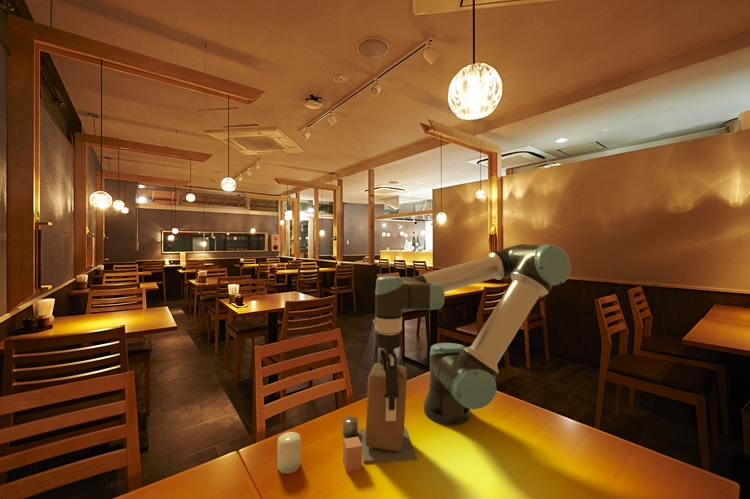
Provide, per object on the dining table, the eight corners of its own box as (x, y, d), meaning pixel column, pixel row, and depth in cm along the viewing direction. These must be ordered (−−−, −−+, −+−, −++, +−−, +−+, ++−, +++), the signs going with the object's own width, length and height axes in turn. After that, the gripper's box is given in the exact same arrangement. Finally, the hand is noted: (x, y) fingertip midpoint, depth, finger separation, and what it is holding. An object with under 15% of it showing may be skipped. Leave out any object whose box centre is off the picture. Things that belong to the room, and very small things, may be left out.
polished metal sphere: (357, 429, 98) (357, 416, 97) (358, 437, 93) (358, 424, 93) (342, 429, 97) (342, 416, 97) (343, 438, 93) (343, 425, 93)
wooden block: (401, 453, 84) (405, 379, 84) (364, 448, 86) (367, 374, 86) (404, 432, 94) (407, 365, 94) (370, 427, 96) (374, 361, 96)
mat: (405, 428, 98) (405, 426, 98) (416, 459, 84) (416, 457, 84) (359, 431, 96) (359, 429, 96) (363, 463, 82) (363, 460, 82)
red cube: (357, 459, 84) (358, 436, 84) (361, 469, 80) (362, 445, 80) (342, 461, 83) (343, 438, 83) (346, 472, 79) (346, 448, 79)
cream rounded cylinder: (301, 457, 84) (301, 431, 84) (298, 472, 79) (299, 444, 78) (279, 459, 83) (279, 432, 83) (275, 474, 78) (275, 446, 78)
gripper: (370, 321, 101) (369, 389, 101) (381, 345, 77) (379, 434, 78) (393, 321, 102) (392, 388, 102) (411, 344, 78) (409, 432, 79)
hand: (387, 408), depth 90 cm, fingers closed on wooden block, 11 cm apart
